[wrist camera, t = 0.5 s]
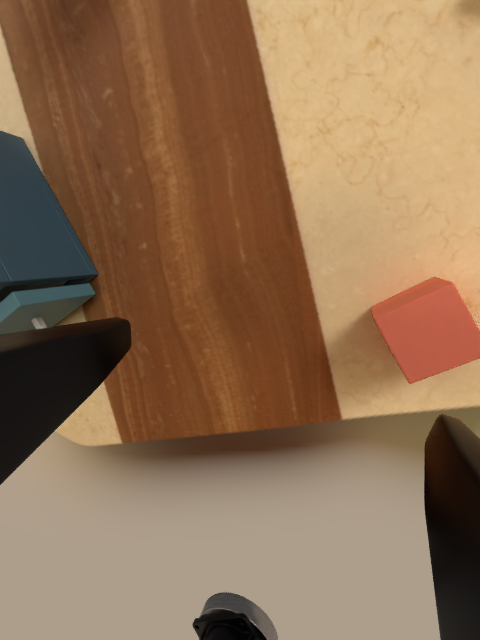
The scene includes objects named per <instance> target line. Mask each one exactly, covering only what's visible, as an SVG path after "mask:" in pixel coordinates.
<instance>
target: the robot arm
mask: <svg viewBox="0 0 480 640" xmlns="http://www.w3.org/2000/svg"><path fill="white" fill-rule="evenodd" d="M130 347H131V326H130V322H129V321H128V320H125V319H122V318H118V317H115V318H108V319H102V320H95V321H88V322H81V323H75V324H68V325H61V326H55V327H48V328H41V329H34V330H28V331H21V332H14V333H8V334H1V335H0V485H1V484H2V483H3V482H4V481H5V480H6V479H7V478H8V477H9V476H10V475H11V474H12V473H13V472H14V471H15V470H16V468H18V467H19V466H20V465H21V464H22V463H23V462H24V461H25V460H26V459H27V458H28V457H29V456H30V455H31V454H32V453H33V452H34V451H35V450H36V448H38V447H39V446H40V445H41V444H42V443H43V442H44V441H45V440H46V439H47V438H48V437H49V436H50V435H51V434H52V433H53V432H54V431H55V430H56V429H57V428H58V427H59V426H60V425H61V424H62V423H63V422H64V421H65V420H66V419H67V418H68V417H69V416H70V415H71V414H72V413H73V412H74V411H75V410H76V409H77V408H78V407H79V406H80V405H81V404H82V403H83V402H84V401H85V400H86V399H87V398H88V397H89V396H90V395H91V394H92V393H93V392H94V391H95V390H96V389H97V388H98V387H99V386H100V385H101V383H102V382H103V381H104V380H105V379H106V378H107V376H108V375H109V374H110V373H111V372H112V370H113V369H114V368H115V367H116V365H117V364H118V363H119V362H120V361H121V359H122V358H123V357H124V356H125V355H126V353H127V352H128V351H129V349H130ZM424 483H425V484H424V489H425V490H424V494H425V495H424V500H425V515H426V524H427V532H428V540H429V548H430V557H431V565H432V573H433V581H434V589H435V597H436V606H437V614H438V621H439V630H440V638H441V640H480V439H479V438H478V437H477V436H476V435H475V434H474V433H473V432H472V431H471V430H470V429H469V428H468V427H467V426H466V425H465V424H464V423H463V422H462V421H461V420H459V419H457V418H454V417H451V416H447V415H444V414H441V415H439V416H438V417H437V419H436V420H435V422H434V424H433V426H432V428H431V431H430V432H429V435H428V437H427V439H426V442H425V482H424ZM193 628H194V629H195V631H196V633H197V635H198V637H199V638H200V640H260V638H259V637H258V635H257V633H256V631H255V629H254V628H253V626H252V624H251V622H250V620H249V619H248V617H247V616H246V615H245V614H244V613H236V614H228V615H220V616H212V617H203V618H196V619H195V620H194V622H193Z"/></svg>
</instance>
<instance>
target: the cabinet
mask: <svg viewBox="0 0 480 640" xmlns="http://www.w3.org/2000/svg"><path fill="white" fill-rule="evenodd" d="M97 275H98V273H97V271H96V269H95V267H94V265H93V264H92V262H91V260H90V258H89V256H88V255H87V253H86V251H85V249H84V248H83V246H82V244H81V242H80V240H79V239H78V237H77V235H76V233H75V231H74V230H73V228H72V226H71V224H70V222H69V221H68V219H67V217H66V215H65V214H64V212H63V210H62V208H61V206H60V205H59V203H58V201H57V199H56V197H55V196H54V194H53V192H52V190H51V189H50V187H49V185H48V183H47V181H46V180H45V178H44V176H43V174H42V172H41V171H40V169H39V167H38V165H37V163H36V162H35V160H34V158H33V156H32V155H31V153H30V151H29V149H28V147H27V146H26V144H25V142H24V140H23V139H22V138H20V137H17V136H14V135H11V134H8V133H6V132H3V131H0V291H1V290H2V289H3V288H4V287H5V286H14V285H25V284H35V283H46V282H56V281H67V280H68V281H67V282H65V283H64V284H63V285H62V286H69V285H78V284H86V283H88V282H89V281H90V280H91V279H93V278H94V277H95V276H97Z"/></svg>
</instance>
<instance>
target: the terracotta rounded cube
mask: <svg viewBox="0 0 480 640" xmlns="http://www.w3.org/2000/svg"><path fill="white" fill-rule="evenodd" d="M371 311H372V315H373V319H374V321H375V323H376V325H377V327H378V329H379V330H380V332H381V334H382V336H383V338H384V339H385V341H386V343H387V345H388V347H389V348H390V350H391V352H392V354H393V356H394V357H395V359H396V361H397V363H398V365H399V366H400V368H401V370H402V372H403V374H404V375H405V377H406V379H407V381H408V383H409V384H411V383H414V382H416V381H419V380H422V379H425V378H427V377H430V376H433V375H435V374H438V373H441V372H444V371H446V370H449V369H452V368H454V367H457V366H460V365H463V364H465V363H468V362H471V361H473V360H476V359H479V358H480V331H479V329H478V327H477V325H476V323H475V322H474V320H473V318H472V316H471V314H470V313H469V311H468V309H467V307H466V305H465V303H464V302H463V300H462V298H461V296H460V294H459V293H458V291H457V289H456V287H455V285H454V284H453V283H452V282H449V281H446V280H443V279H439V278H436V277H433V278H431V279H429V280H427V281H424V282H422V283H420V284H418V285H416V286H414V287H412V288H410V289H408V290H406V291H404V292H402V293H399V294H397V295H395V296H393V297H391V298H389V299H387V300H385V301H383V302H381V303H379V304H377V305H375V306H372V307H371Z"/></svg>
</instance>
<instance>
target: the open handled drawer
mask: <svg viewBox="0 0 480 640" xmlns="http://www.w3.org/2000/svg"><path fill="white" fill-rule="evenodd" d="M67 281H68V280H67ZM67 281H56V282H46V283H35V284H25V285H14V286H5V287H4V288H3V289H2V290H1V291H0V335H1V334H8V333H14V332H21V331H28V330H34V329H41V328H48V327H53V326H54V325H55V324H57V323H58V322H59V321H61V320H62V319H63V318H65V317H66V316H67V315H69V314H70V313H71V312H73V311H74V310H75V309H77V308H78V307H79V306H81V305H82V304H83V303H85V302H86V301H87V300H89V299H90V298H91V297H93V296H94V295H95V292H94V290H93V288H92V286H91V285H90V283H87V284H78V285H69V286H62V285H63V284H64V283H65V282H67Z"/></svg>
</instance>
